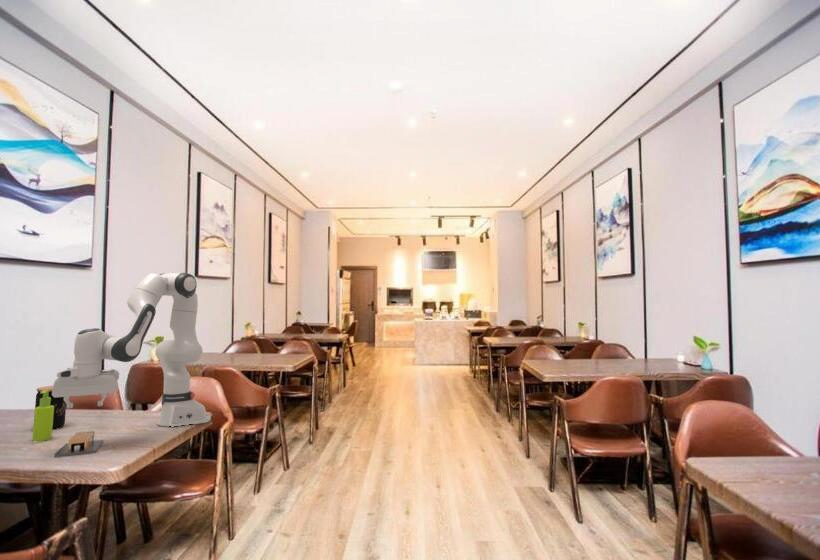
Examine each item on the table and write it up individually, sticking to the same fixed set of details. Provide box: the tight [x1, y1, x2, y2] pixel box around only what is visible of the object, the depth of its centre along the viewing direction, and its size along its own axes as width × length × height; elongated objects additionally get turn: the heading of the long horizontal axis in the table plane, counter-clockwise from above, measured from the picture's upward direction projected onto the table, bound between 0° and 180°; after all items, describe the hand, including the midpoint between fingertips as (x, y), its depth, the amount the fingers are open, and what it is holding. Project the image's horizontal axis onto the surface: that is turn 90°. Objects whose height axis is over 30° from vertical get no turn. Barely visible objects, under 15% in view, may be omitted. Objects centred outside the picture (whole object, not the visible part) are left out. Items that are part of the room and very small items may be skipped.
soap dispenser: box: [32, 390, 54, 442], centre depth 171 cm, size 6×7×20 cm
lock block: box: [68, 432, 93, 451], centre depth 159 cm, size 6×9×4 cm, turn 26°
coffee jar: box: [34, 385, 67, 430], centre depth 188 cm, size 11×11×18 cm
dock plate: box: [53, 430, 104, 458], centre depth 159 cm, size 12×14×5 cm
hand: (85, 406), depth 161 cm, fingers open, 8 cm apart
